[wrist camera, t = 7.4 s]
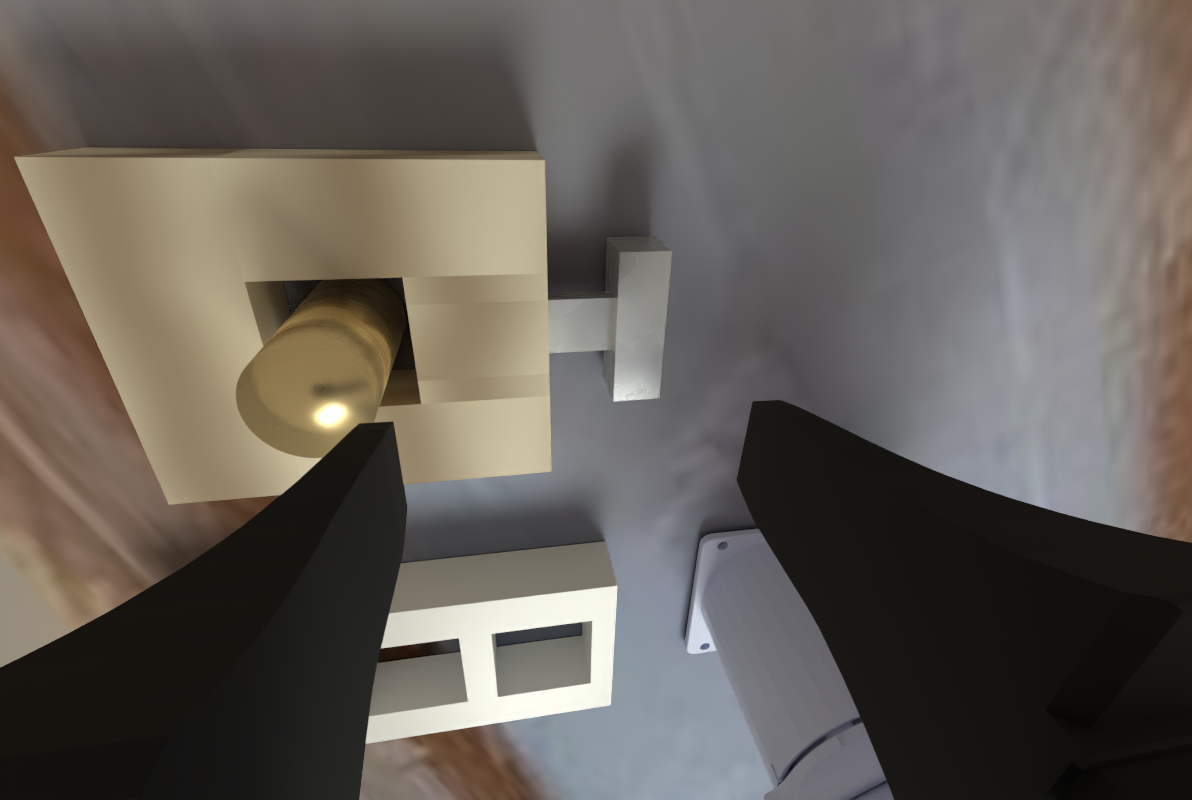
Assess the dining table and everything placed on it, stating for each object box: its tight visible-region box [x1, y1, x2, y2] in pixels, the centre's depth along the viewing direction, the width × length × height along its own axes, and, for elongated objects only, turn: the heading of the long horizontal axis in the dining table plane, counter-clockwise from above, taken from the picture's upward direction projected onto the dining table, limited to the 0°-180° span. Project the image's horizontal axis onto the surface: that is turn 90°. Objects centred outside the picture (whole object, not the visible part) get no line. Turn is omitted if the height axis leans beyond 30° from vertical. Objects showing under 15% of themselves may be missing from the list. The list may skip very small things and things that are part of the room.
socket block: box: [14, 147, 551, 504], centre depth 17 cm, size 12×10×3 cm
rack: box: [365, 541, 617, 744], centre depth 24 cm, size 17×8×3 cm, turn 88°
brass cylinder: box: [236, 278, 406, 458], centre depth 16 cm, size 3×3×6 cm
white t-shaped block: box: [548, 236, 672, 401], centre depth 18 cm, size 8×5×2 cm, turn 88°
